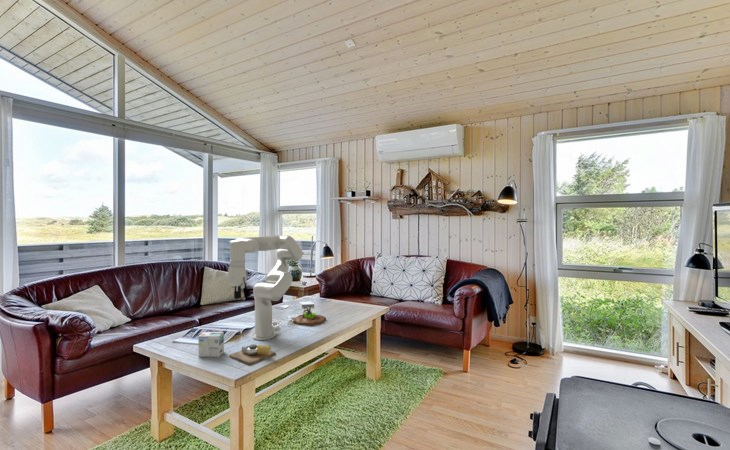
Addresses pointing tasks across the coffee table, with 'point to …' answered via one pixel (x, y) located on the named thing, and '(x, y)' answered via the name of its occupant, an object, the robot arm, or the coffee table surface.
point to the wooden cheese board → (250, 356)
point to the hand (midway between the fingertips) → (237, 298)
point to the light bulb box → (211, 344)
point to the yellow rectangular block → (257, 350)
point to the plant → (309, 318)
